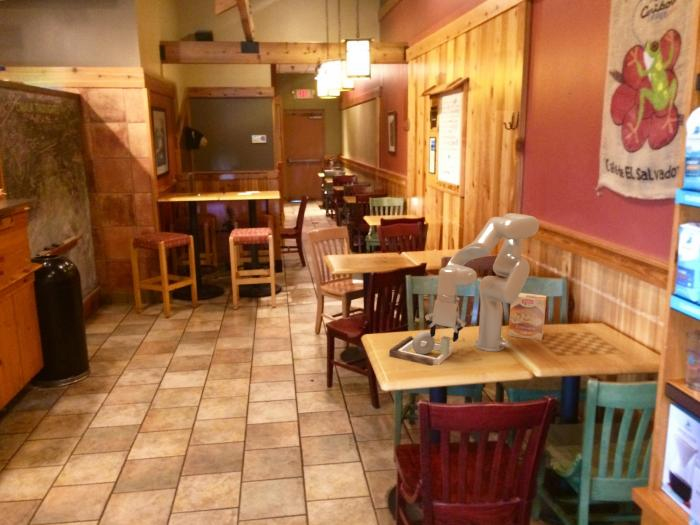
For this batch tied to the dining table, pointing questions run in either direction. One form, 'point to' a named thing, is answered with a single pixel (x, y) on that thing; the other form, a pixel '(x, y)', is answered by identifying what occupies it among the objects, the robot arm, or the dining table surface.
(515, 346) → the dining table surface
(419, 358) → the brown piece
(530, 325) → the coffeecake box
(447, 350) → the white open rectangular frame
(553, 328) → the dining table surface
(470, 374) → the dining table surface
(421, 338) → the grey wheel
